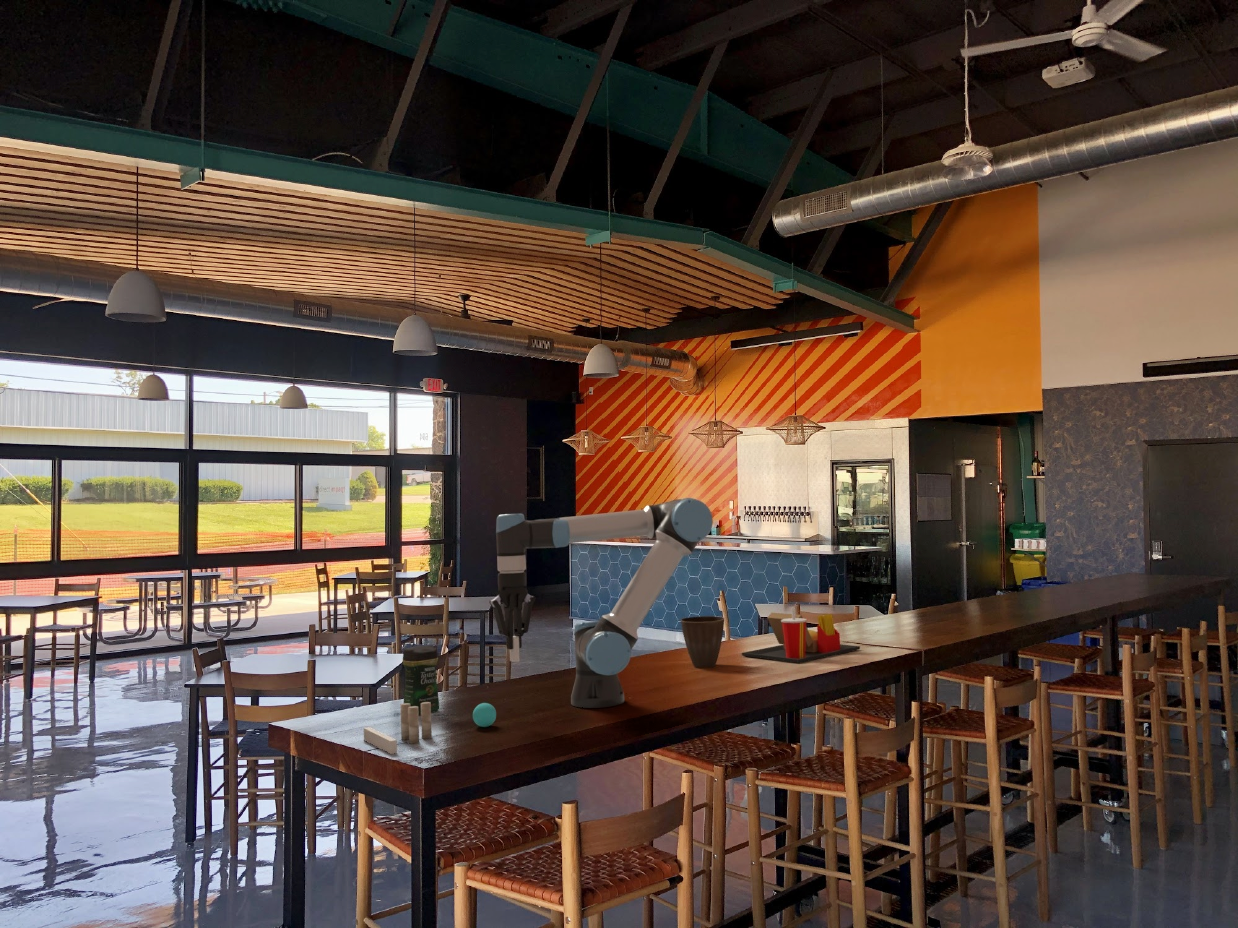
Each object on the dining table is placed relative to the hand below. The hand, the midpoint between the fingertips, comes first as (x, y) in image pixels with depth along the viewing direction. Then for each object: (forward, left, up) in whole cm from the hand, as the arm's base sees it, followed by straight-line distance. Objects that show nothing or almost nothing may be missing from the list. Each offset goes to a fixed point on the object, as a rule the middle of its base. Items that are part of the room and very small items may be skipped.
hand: (514, 661), depth 245 cm
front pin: (+25, 0, -16) cm, 30 cm away
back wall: (+37, 0, -16) cm, 40 cm away
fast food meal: (-126, -19, -16) cm, 129 cm away
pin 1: (+30, -2, -16) cm, 34 cm away
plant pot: (-87, -26, -16) cm, 92 cm away
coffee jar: (+14, -29, -16) cm, 36 cm away
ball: (+9, 0, -13) cm, 16 cm away
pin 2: (+30, +3, -16) cm, 34 cm away
